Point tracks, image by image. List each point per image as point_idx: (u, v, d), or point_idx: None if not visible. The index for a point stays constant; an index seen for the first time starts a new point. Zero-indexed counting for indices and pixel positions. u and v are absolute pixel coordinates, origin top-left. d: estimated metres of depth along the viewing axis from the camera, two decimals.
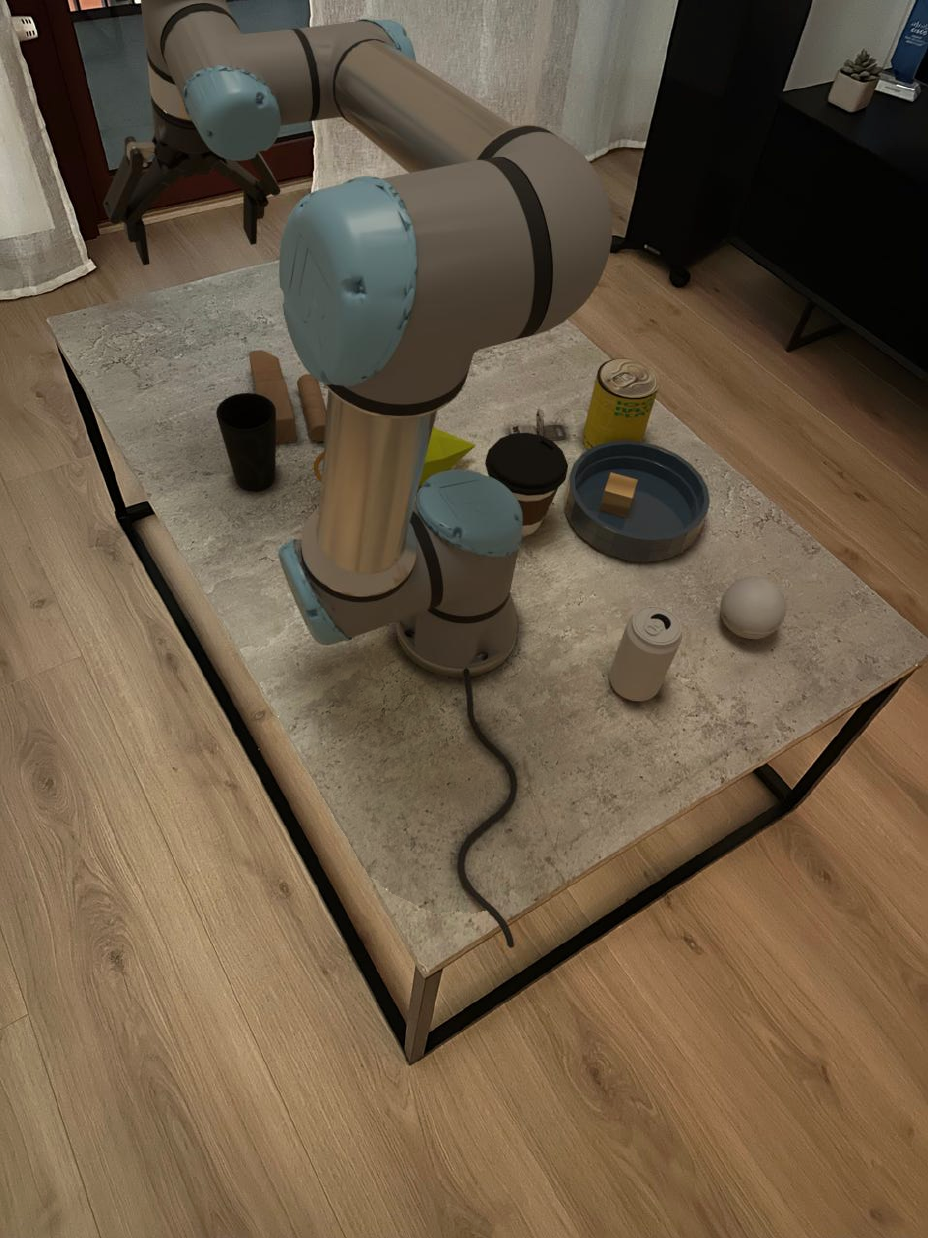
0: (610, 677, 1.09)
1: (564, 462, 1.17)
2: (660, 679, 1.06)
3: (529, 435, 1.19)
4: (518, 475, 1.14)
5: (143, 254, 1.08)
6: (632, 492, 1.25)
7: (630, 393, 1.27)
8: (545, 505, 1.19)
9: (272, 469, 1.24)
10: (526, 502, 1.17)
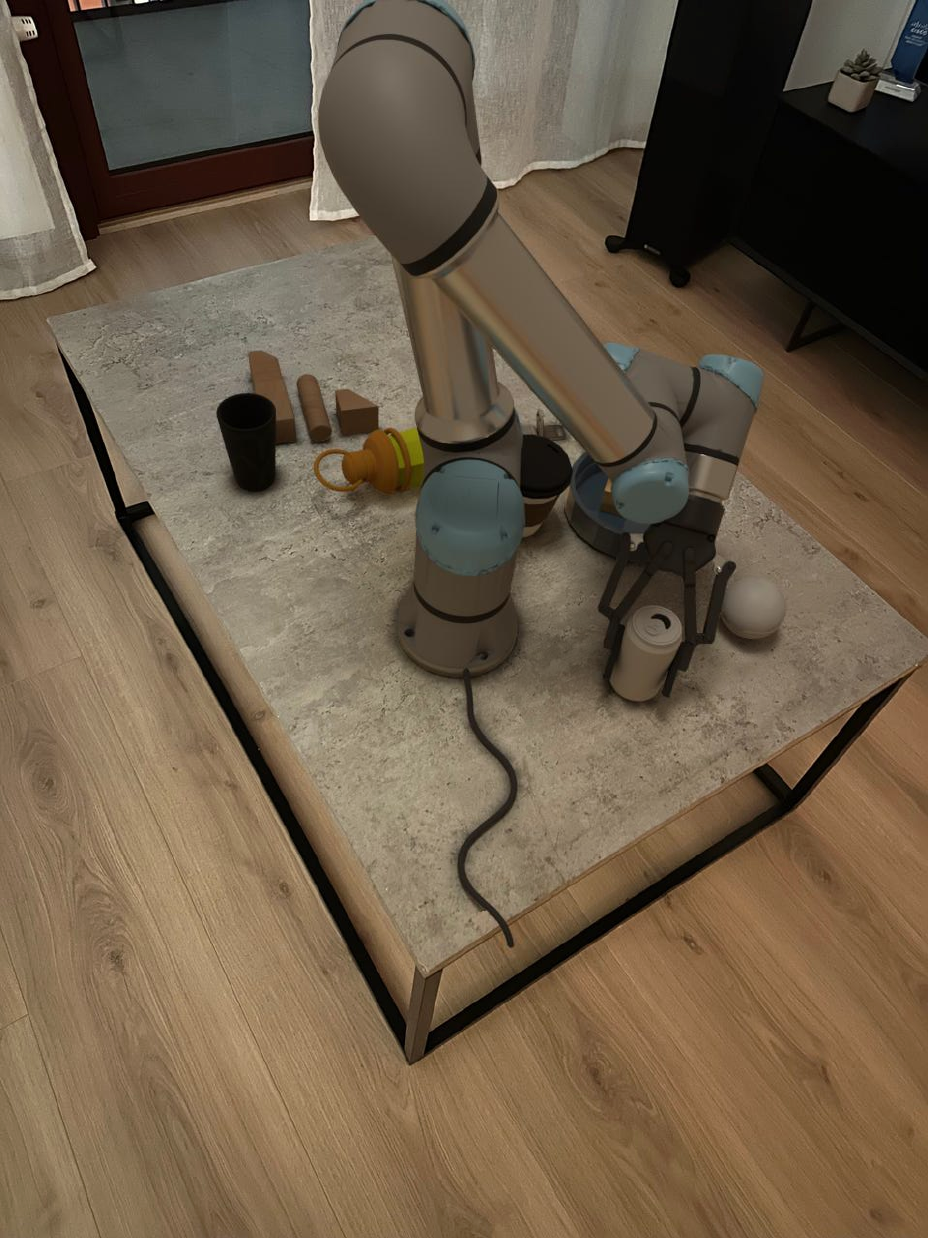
0: None
1: (569, 467, 1.17)
2: (660, 679, 1.06)
3: (536, 437, 1.19)
4: (523, 478, 1.14)
5: (609, 664, 1.05)
6: None
7: None
8: (547, 508, 1.19)
9: (272, 469, 1.24)
10: (529, 505, 1.17)
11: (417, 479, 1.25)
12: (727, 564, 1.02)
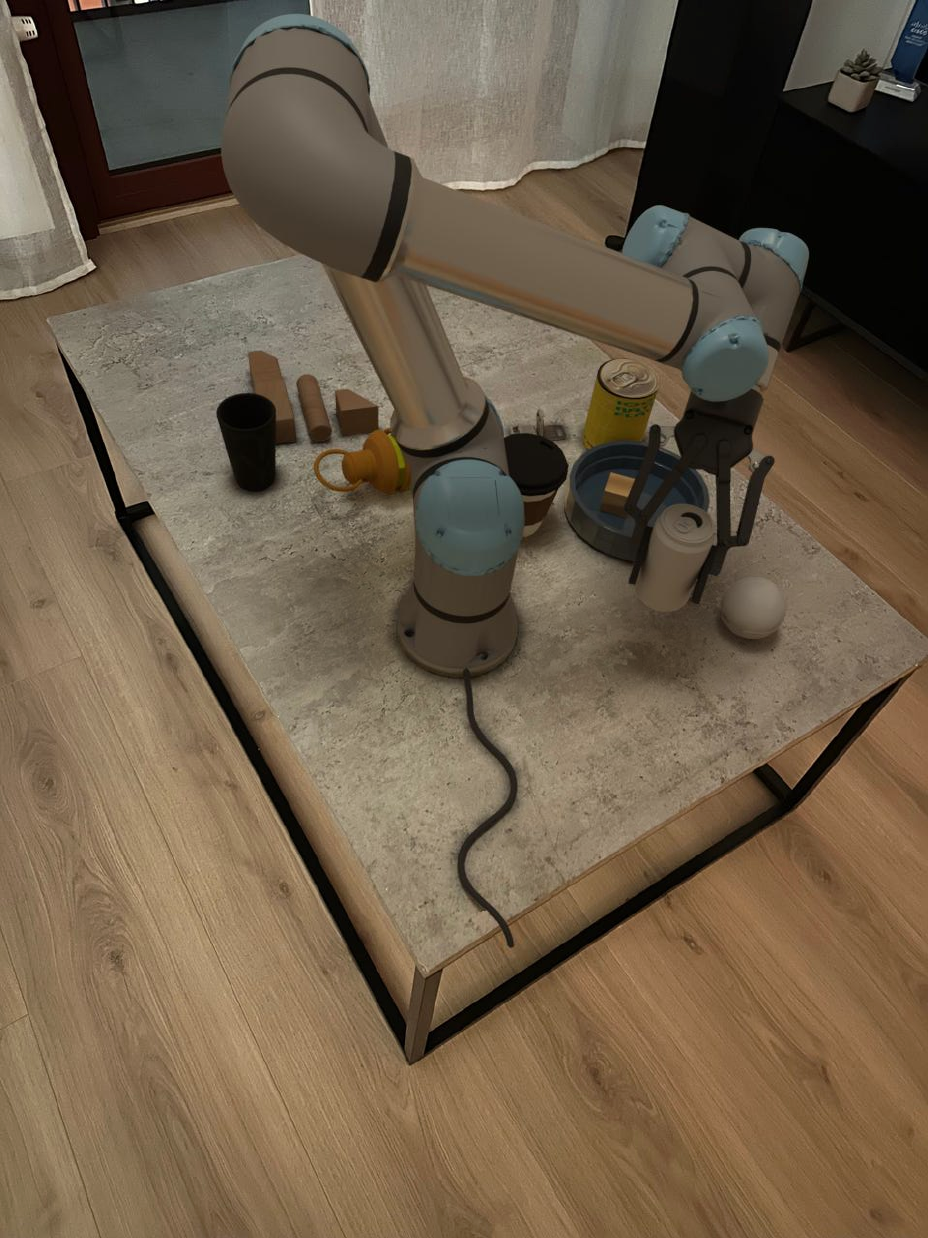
0: (635, 586, 1.02)
1: (564, 462, 1.17)
2: (689, 586, 0.98)
3: (528, 435, 1.19)
4: (519, 476, 1.14)
5: (634, 567, 0.97)
6: None
7: (630, 393, 1.27)
8: (546, 505, 1.19)
9: (272, 469, 1.24)
10: (527, 503, 1.17)
11: None
12: (765, 459, 0.94)
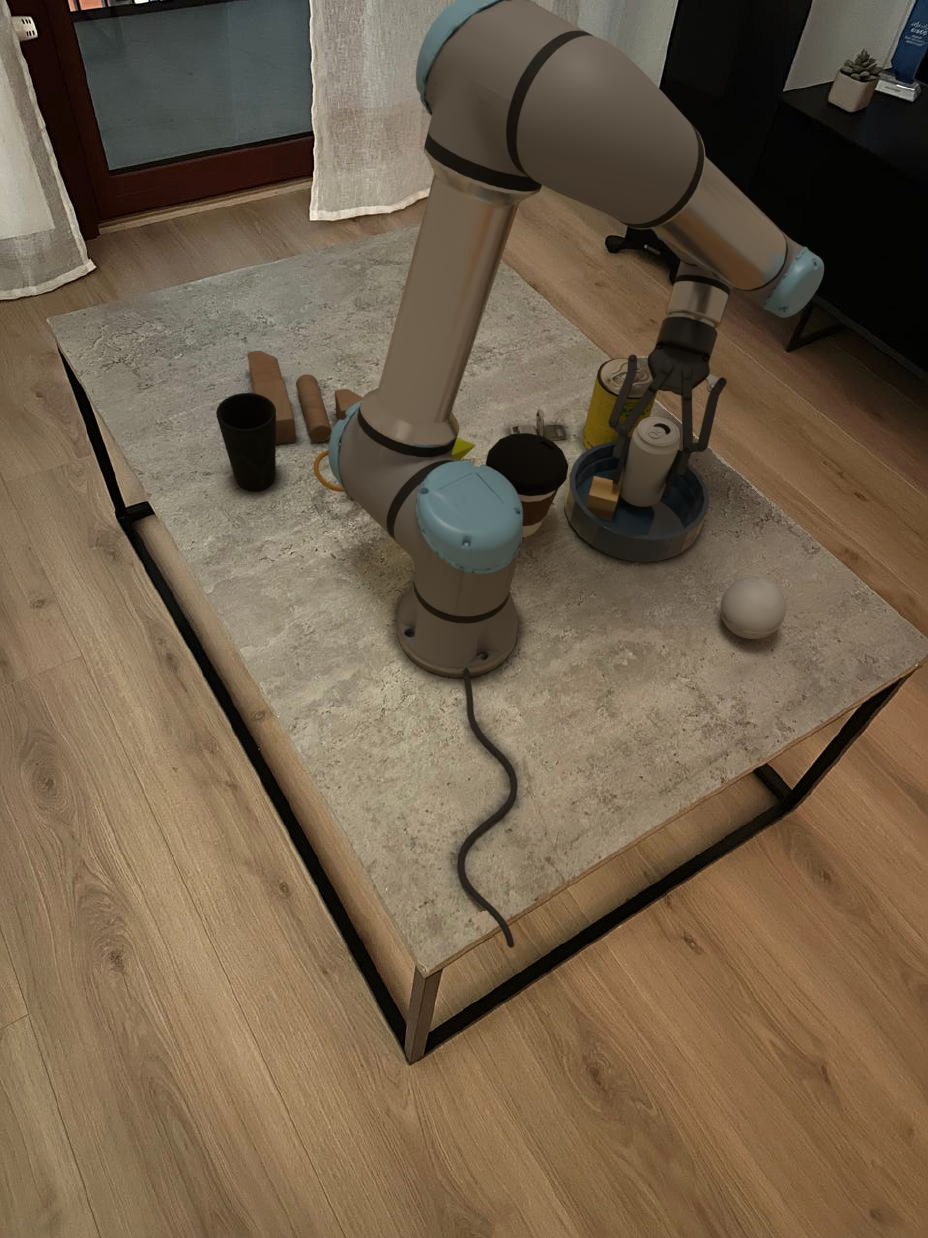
0: None
1: (564, 462, 1.17)
2: (661, 484, 1.23)
3: (528, 435, 1.19)
4: (519, 476, 1.14)
5: (617, 469, 1.22)
6: (616, 495, 1.24)
7: (630, 393, 1.27)
8: (546, 505, 1.19)
9: (272, 469, 1.24)
10: (527, 502, 1.17)
11: None
12: (719, 380, 1.19)
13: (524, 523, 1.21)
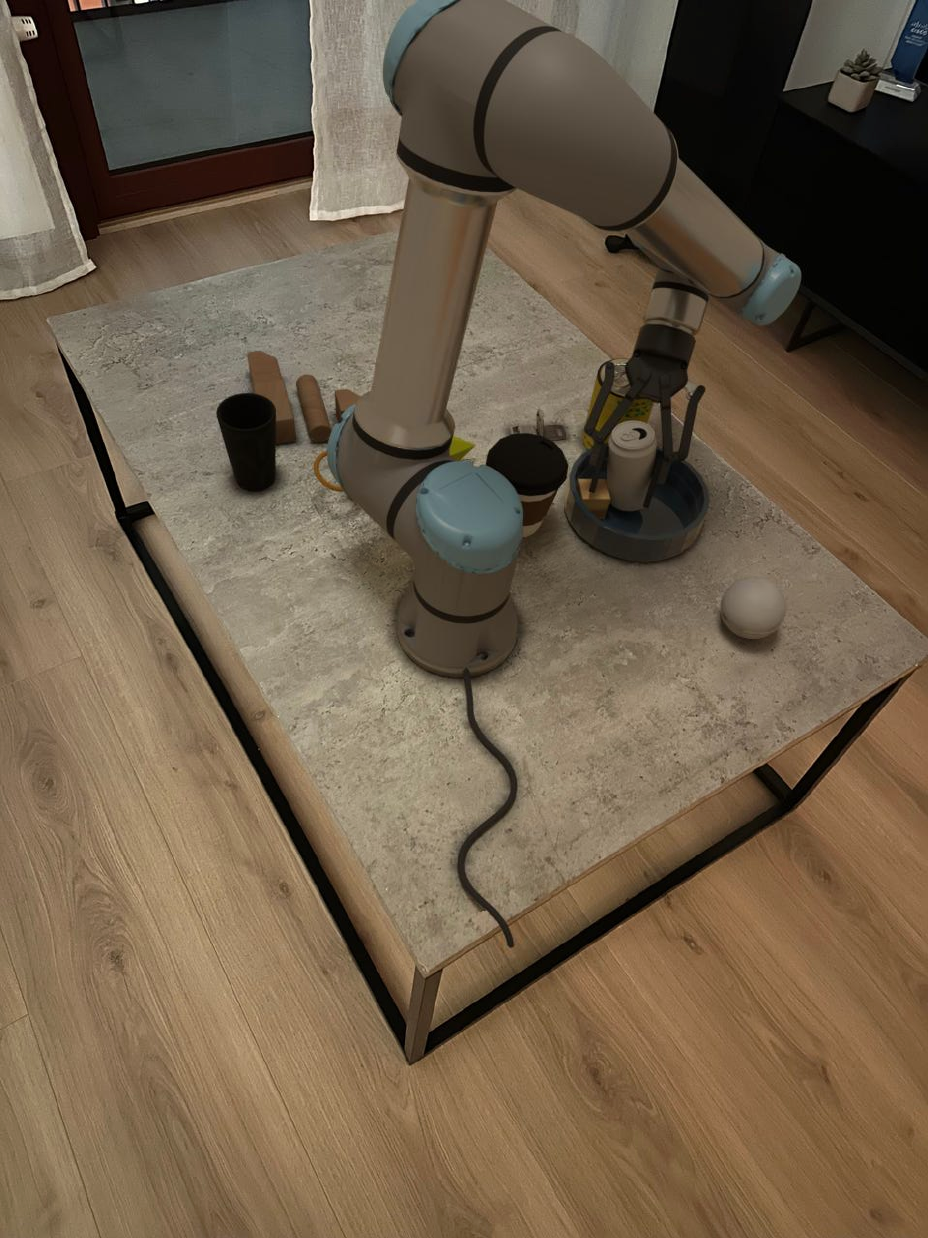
0: None
1: (564, 462, 1.17)
2: (636, 490, 1.22)
3: (528, 435, 1.19)
4: (519, 476, 1.14)
5: (593, 477, 1.21)
6: (607, 493, 1.24)
7: None
8: (546, 505, 1.19)
9: (272, 469, 1.24)
10: (527, 502, 1.17)
11: None
12: (697, 388, 1.18)
13: (524, 523, 1.21)
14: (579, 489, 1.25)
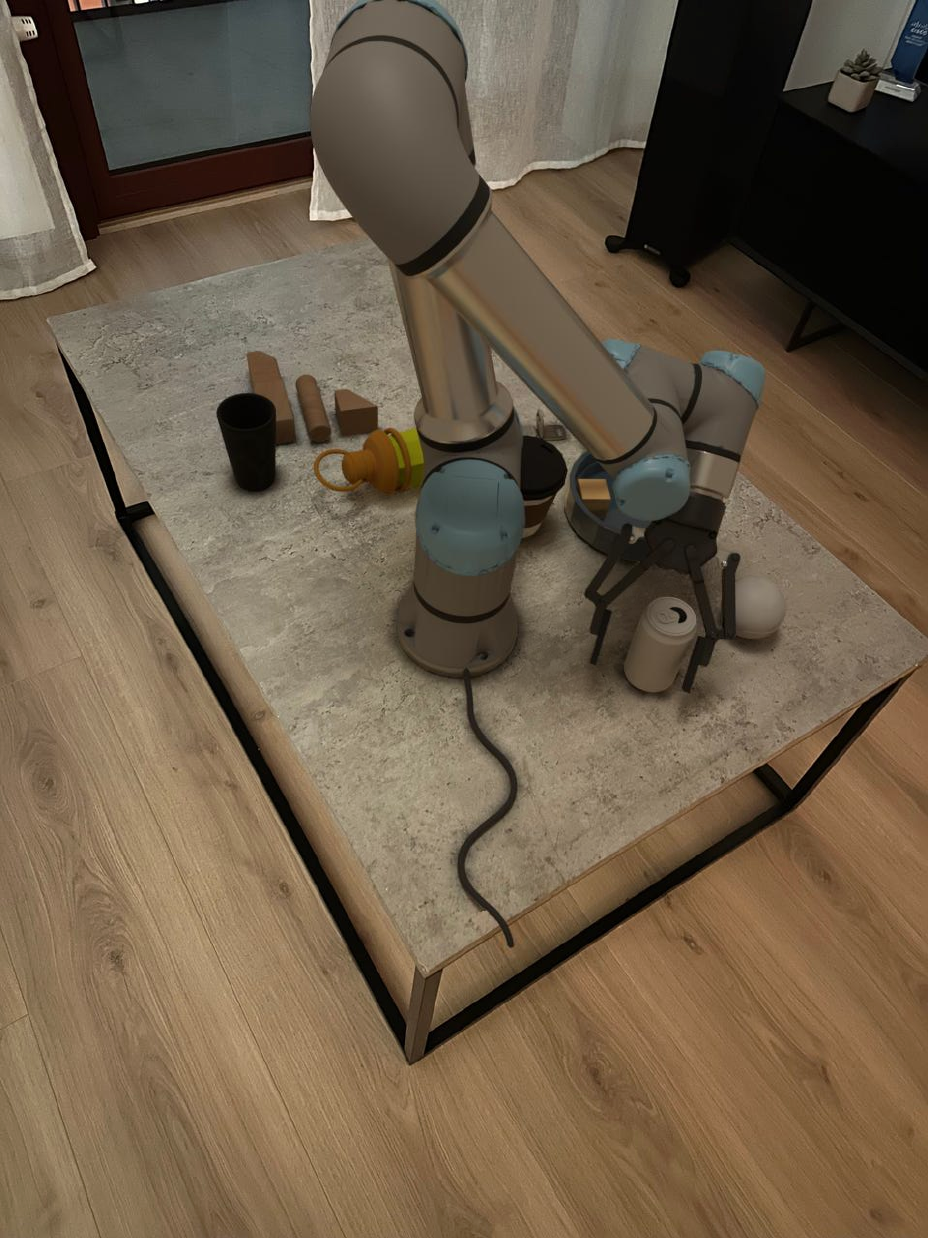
0: None
1: (563, 467, 1.16)
2: (664, 673, 1.06)
3: (529, 438, 1.19)
4: None
5: (595, 649, 1.04)
6: (607, 493, 1.24)
7: None
8: (544, 509, 1.19)
9: (272, 469, 1.24)
10: (524, 506, 1.17)
11: (417, 479, 1.25)
12: (731, 556, 1.01)
13: None
14: (579, 489, 1.25)
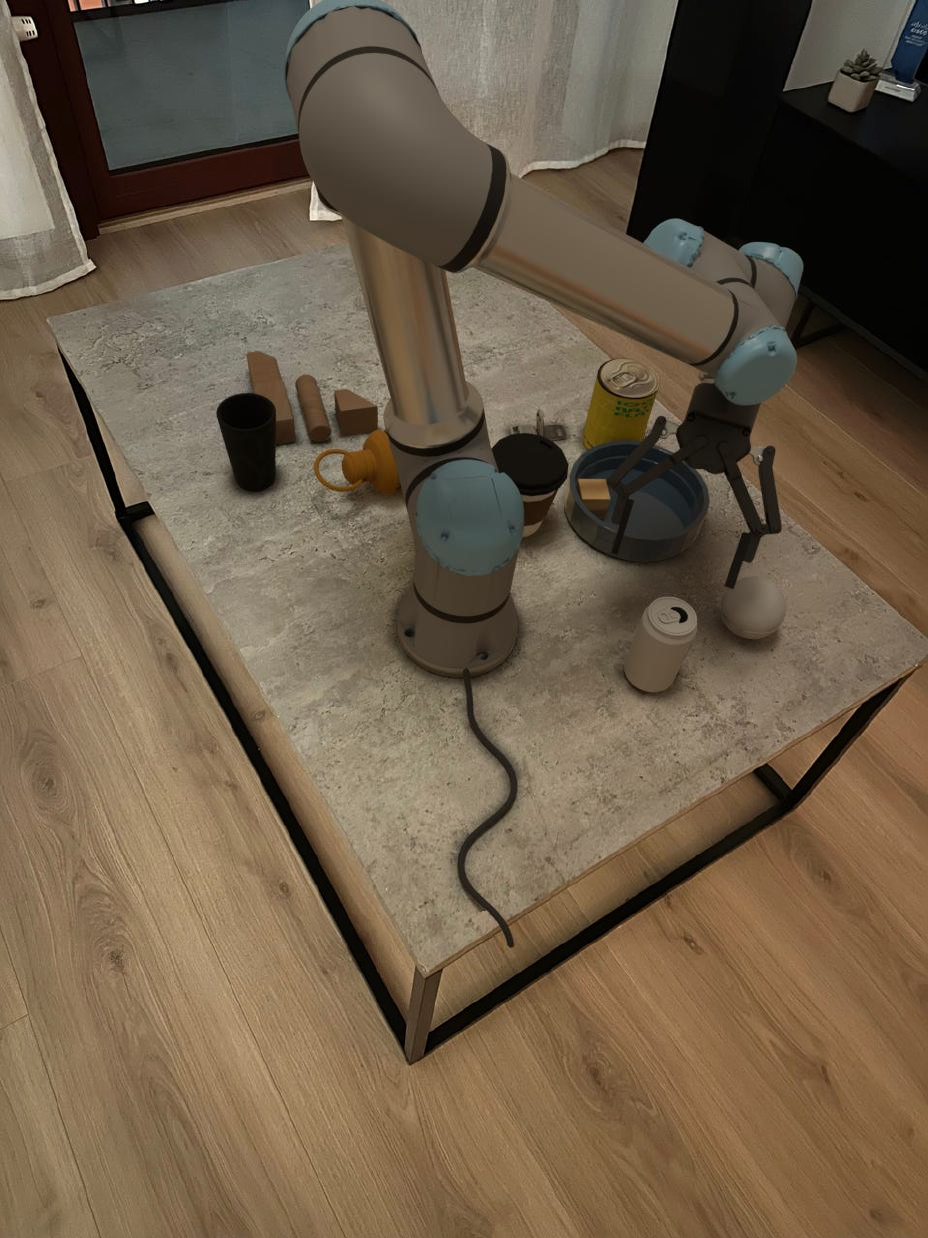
0: (626, 658, 1.11)
1: (565, 461, 1.17)
2: (664, 673, 1.06)
3: (528, 435, 1.19)
4: (520, 476, 1.14)
5: (617, 538, 1.03)
6: (607, 493, 1.24)
7: (630, 393, 1.27)
8: (547, 504, 1.19)
9: (272, 469, 1.24)
10: (529, 502, 1.17)
11: None
12: (766, 450, 1.00)
13: (525, 523, 1.21)
14: (579, 489, 1.25)
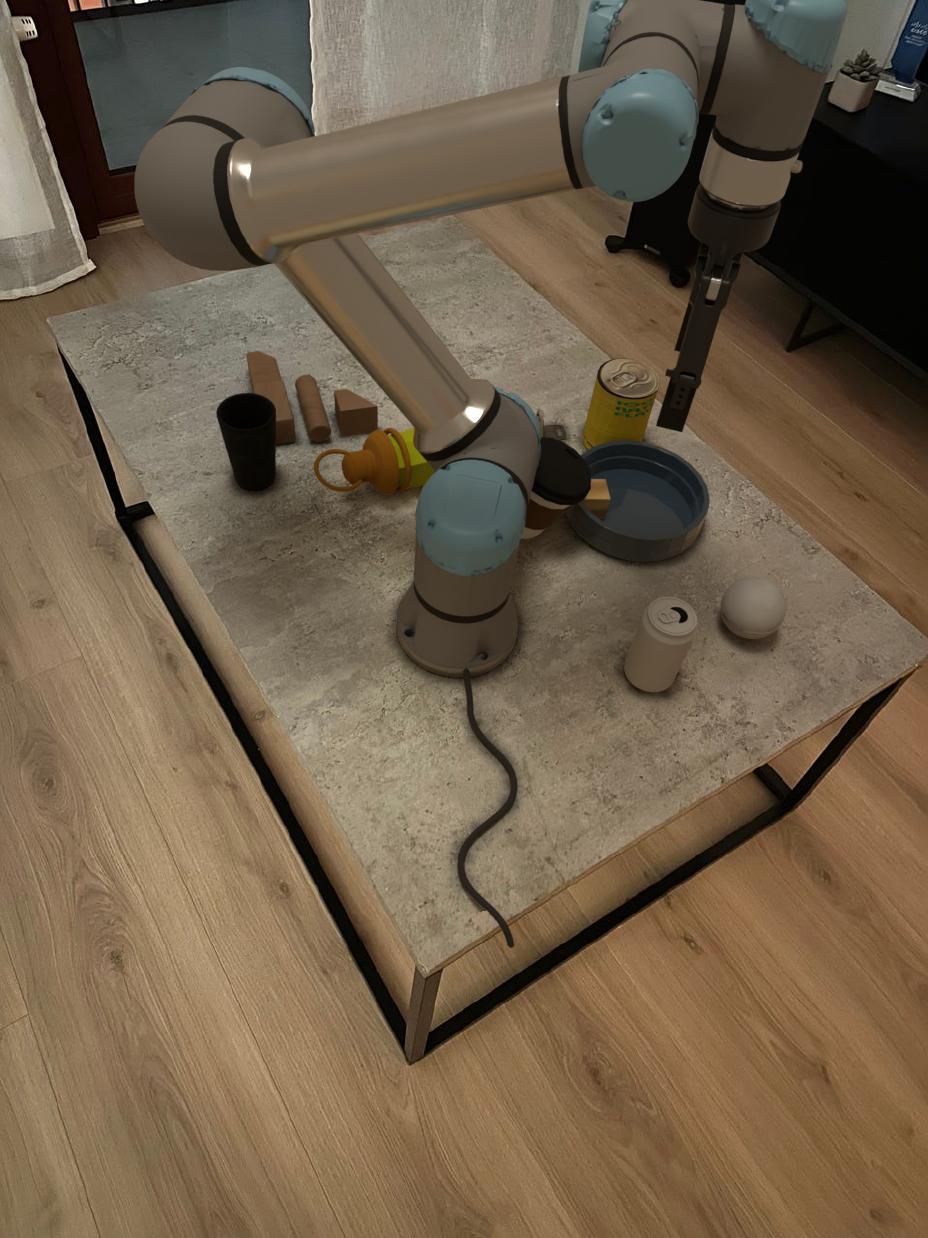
0: (626, 658, 1.11)
1: (590, 474, 1.18)
2: (664, 673, 1.06)
3: (554, 441, 1.19)
4: (553, 483, 1.14)
5: None
6: (607, 493, 1.24)
7: (630, 393, 1.27)
8: (563, 513, 1.20)
9: (272, 469, 1.24)
10: (552, 510, 1.17)
11: (417, 479, 1.25)
12: None
13: (537, 527, 1.21)
14: None
